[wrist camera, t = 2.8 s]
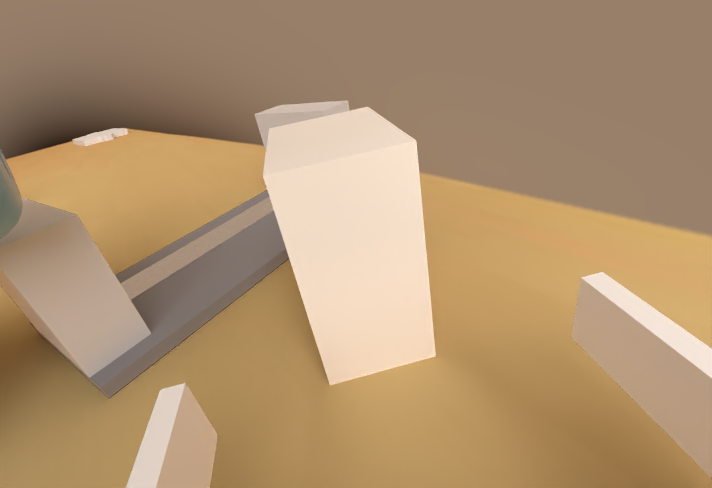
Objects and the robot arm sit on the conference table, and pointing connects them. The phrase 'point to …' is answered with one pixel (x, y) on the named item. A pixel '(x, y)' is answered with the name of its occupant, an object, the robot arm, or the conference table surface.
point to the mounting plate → (100, 136)
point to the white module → (354, 238)
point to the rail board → (194, 283)
